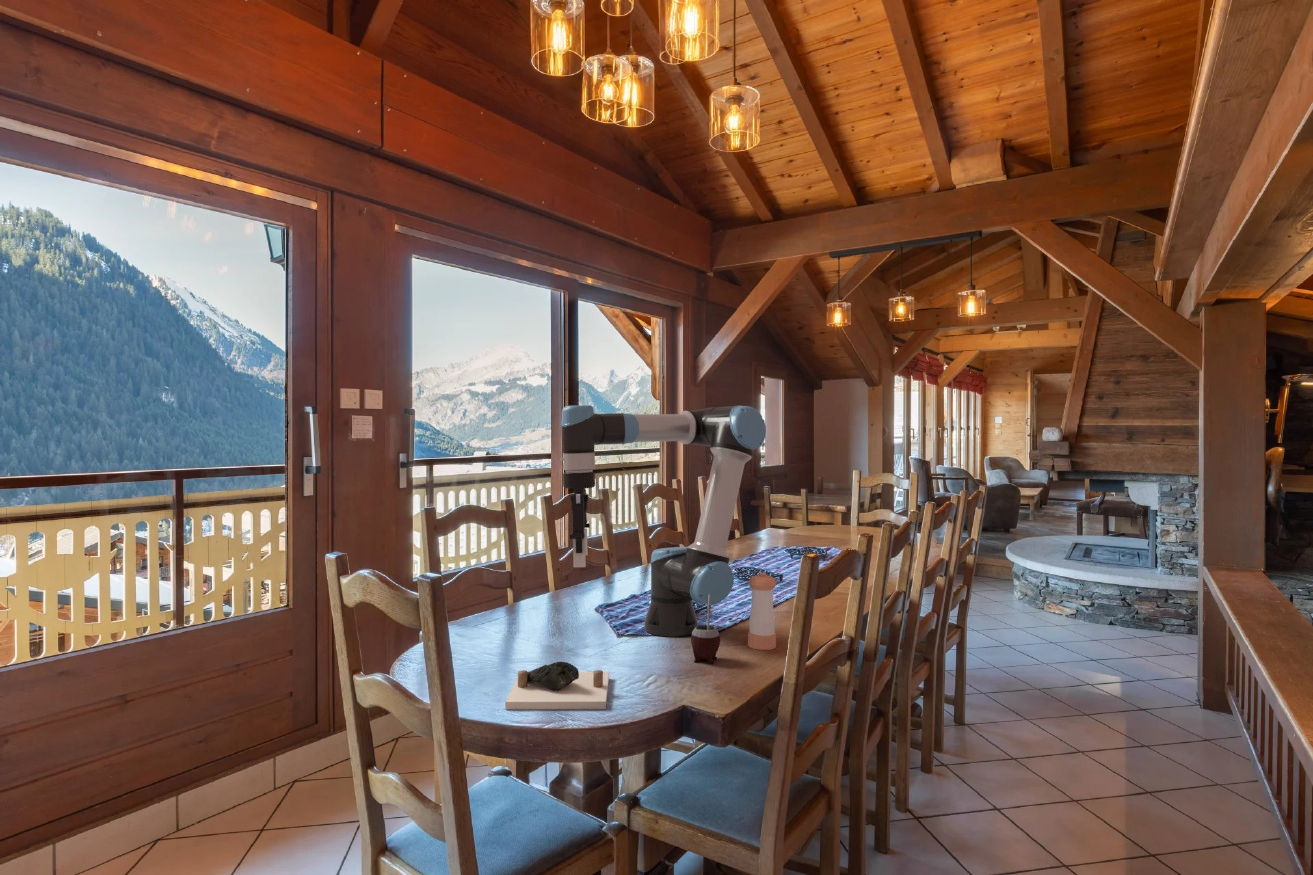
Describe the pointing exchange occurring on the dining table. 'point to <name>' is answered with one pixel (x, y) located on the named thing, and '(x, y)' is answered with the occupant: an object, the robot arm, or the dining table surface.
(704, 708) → the dining table surface
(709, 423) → the robot arm
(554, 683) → the stone
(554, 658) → the dining table surface
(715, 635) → the mate gourd
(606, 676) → the board
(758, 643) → the pepper shaker
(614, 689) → the dining table surface
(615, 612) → the dining table surface
